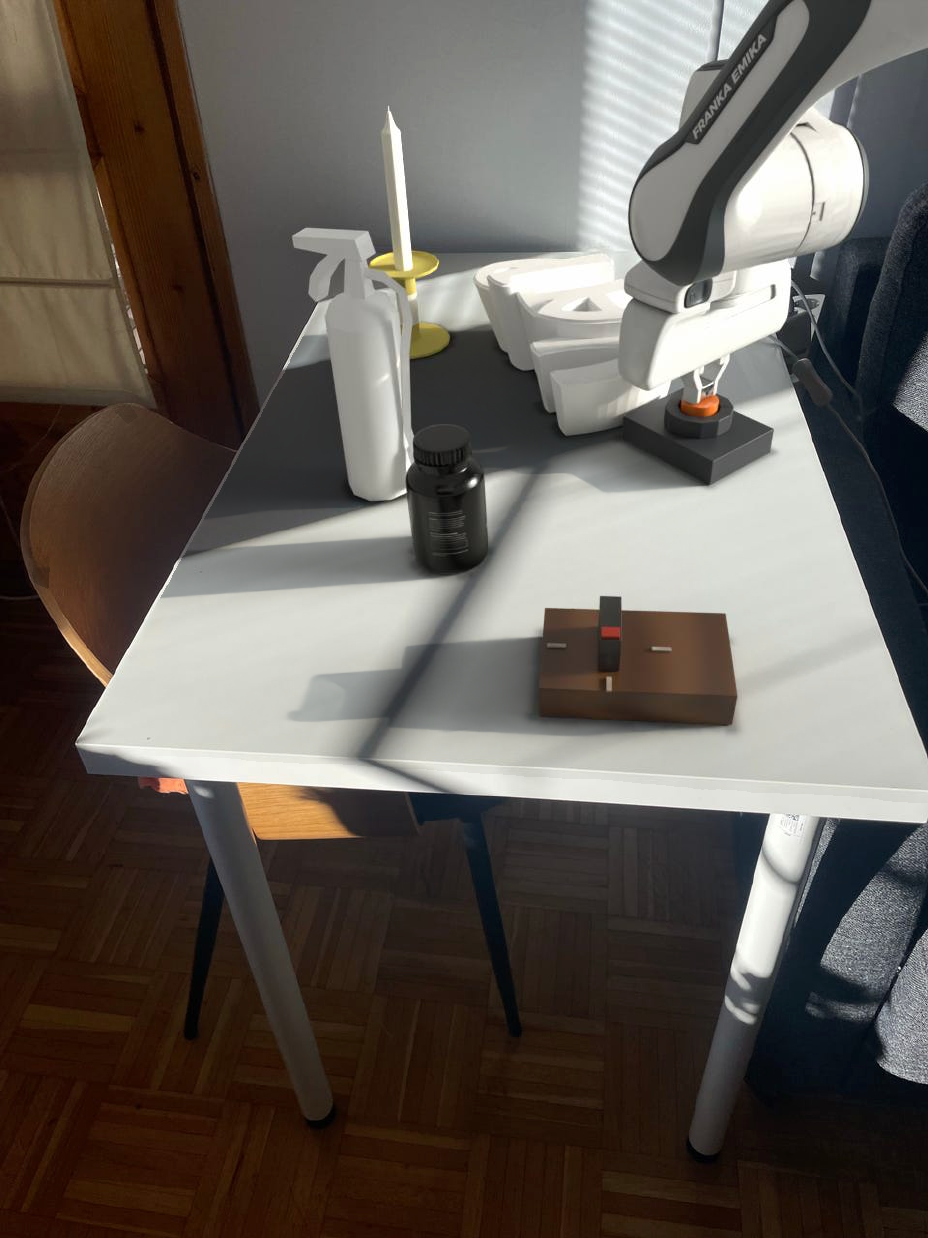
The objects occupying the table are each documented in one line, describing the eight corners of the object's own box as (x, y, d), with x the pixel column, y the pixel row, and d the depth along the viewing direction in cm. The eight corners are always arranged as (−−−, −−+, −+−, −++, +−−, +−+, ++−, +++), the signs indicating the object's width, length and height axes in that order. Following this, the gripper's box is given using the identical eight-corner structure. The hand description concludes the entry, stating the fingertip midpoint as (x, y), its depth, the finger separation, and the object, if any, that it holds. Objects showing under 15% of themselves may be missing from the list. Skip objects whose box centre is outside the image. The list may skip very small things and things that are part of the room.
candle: (372, 362, 117) (341, 121, 99) (370, 328, 125) (341, 98, 107) (453, 354, 117) (437, 113, 100) (446, 321, 125) (430, 90, 107)
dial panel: (721, 640, 76) (725, 610, 74) (732, 726, 69) (738, 695, 67) (544, 634, 78) (544, 605, 76) (539, 717, 71) (538, 687, 69)
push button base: (770, 452, 97) (777, 412, 94) (709, 485, 93) (715, 444, 90) (681, 409, 104) (685, 371, 101) (621, 438, 100) (624, 399, 97)
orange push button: (724, 414, 96) (726, 399, 95) (699, 427, 94) (701, 411, 93) (697, 402, 98) (698, 386, 97) (672, 414, 97) (674, 398, 95)
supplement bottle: (502, 544, 87) (498, 428, 80) (463, 585, 83) (454, 467, 75) (440, 524, 90) (430, 410, 83) (398, 563, 86) (384, 447, 78)
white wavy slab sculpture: (697, 439, 99) (708, 343, 92) (544, 465, 97) (544, 368, 90) (591, 308, 125) (594, 226, 118) (468, 326, 123) (464, 243, 116)
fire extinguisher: (420, 520, 91) (393, 257, 75) (320, 488, 96) (275, 235, 80) (457, 485, 95) (440, 229, 79) (360, 456, 100) (325, 210, 84)
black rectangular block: (598, 625, 74) (600, 593, 72) (619, 626, 74) (621, 593, 71) (597, 670, 70) (599, 637, 68) (619, 671, 70) (622, 638, 68)
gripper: (763, 221, 92) (743, 355, 102) (610, 280, 84) (603, 421, 93) (818, 237, 89) (792, 375, 98) (663, 301, 80) (651, 446, 89)
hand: (699, 398), depth 95 cm, fingers closed, pressing on orange push button
